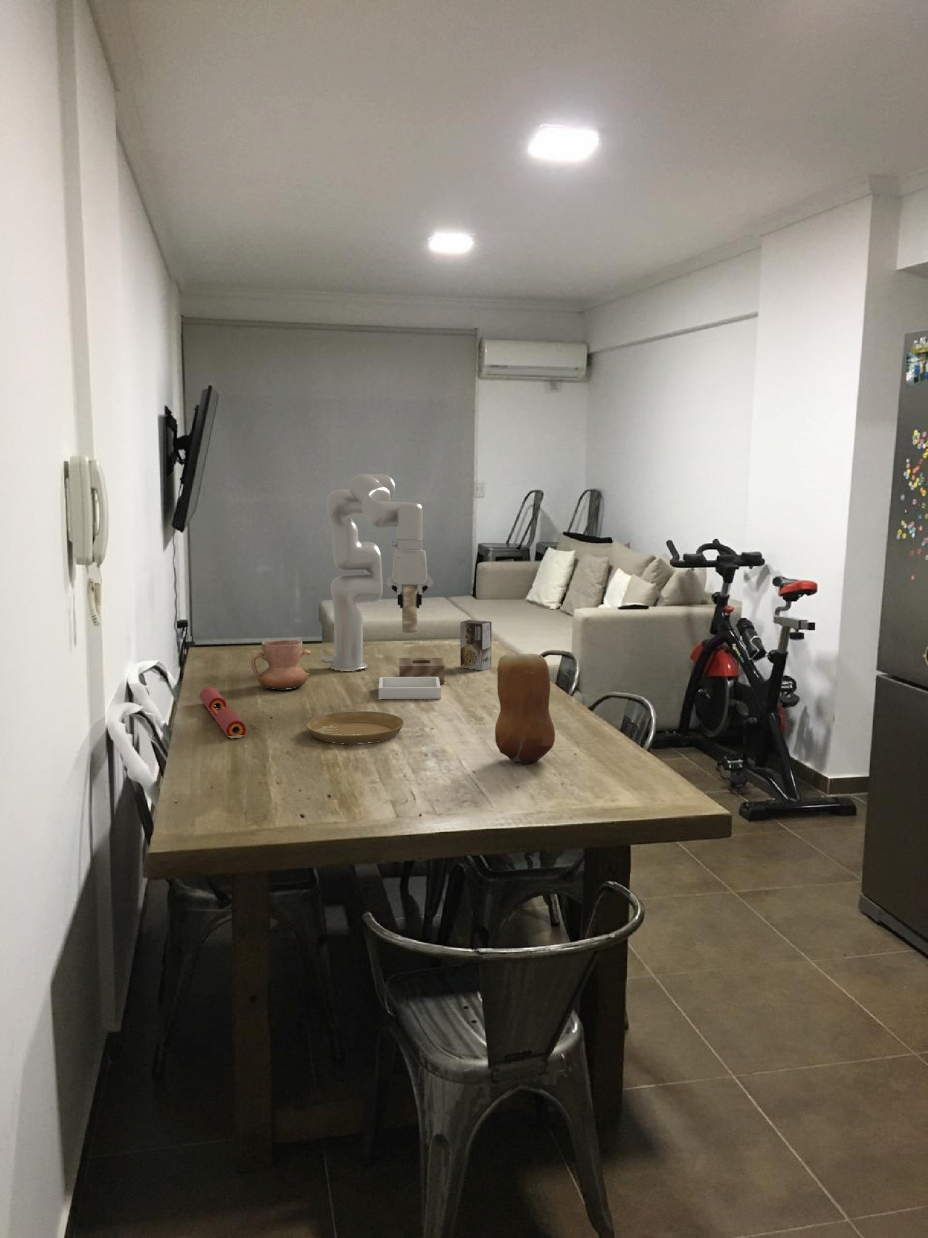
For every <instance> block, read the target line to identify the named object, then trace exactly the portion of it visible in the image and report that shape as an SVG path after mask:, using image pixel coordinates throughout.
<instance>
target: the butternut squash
mask: <svg viewBox="0 0 928 1238" xmlns="http://www.w3.org/2000/svg"><path fill="white" fill-rule="evenodd" d="M496 672H497V678H496V680H497V682H496V683H497V685H496V686H497V697H498V701H499V707H500V710H499V715H498V717H497V720H496V722H495V727H494V728H495V729H494V737H495V738H494V739H495V745H496V746H497V748H498V750H499V753H500V754H502V755H504V756H506V757H507V758H508V759H509V760H511V761H514V762H519V763H522V764H527V765H529V764H533V763H537V762H538V761H539V760H541V758H544V756H545V755H546V754H547V753H549V751H551V749H552V748H553V747H554V745H555V740H556V739H555V738H556V731H555V726H554V723H553V720H552V718H551V717H552V716H551V714H550V696H551V678H550V677H551V676H550V669H549V665H548V662H547V660H546V659H545V657H543V656H542V655H541V654H538V653H512V652H511V653H506V654H504V655H502V656H501V657H499V660H498V664H497V668H496Z"/></svg>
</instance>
